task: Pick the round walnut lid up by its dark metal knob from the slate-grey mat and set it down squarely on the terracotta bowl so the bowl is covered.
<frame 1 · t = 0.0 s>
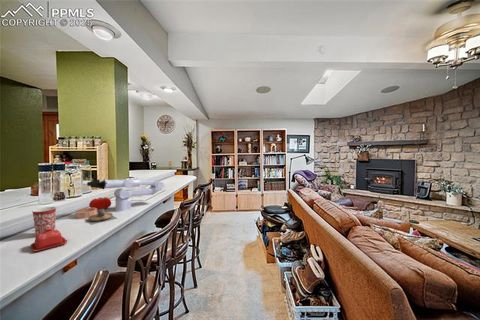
hand: (89, 184, 131), 22 cm above the worktop, tool horizontal, fingers open, 7 cm apart
lid: (101, 218, 127), point 1 cm above the worktop, touching mat
butter dish: (49, 246, 93), on the worktop
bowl: (86, 216, 133), on the worktop
mug: (47, 233, 107), on the worktop
tomato: (101, 209, 150), on the worktop
mat: (101, 219, 127), on the worktop
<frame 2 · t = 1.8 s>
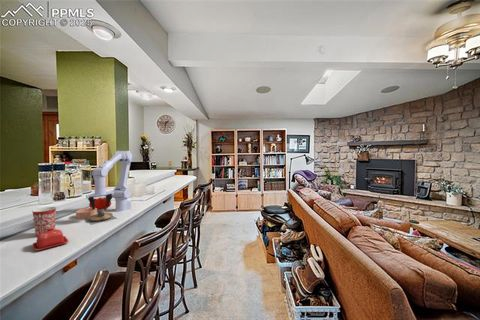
hand: (100, 207, 127), 8 cm above the worktop, tool pointing down, fingers open, 7 cm apart
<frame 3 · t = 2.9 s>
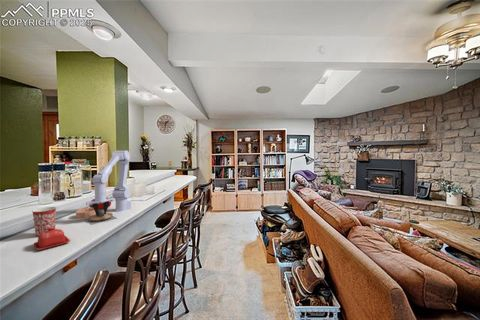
hand: (101, 214, 127), 3 cm above the worktop, tool pointing down, fingers closed on lid, 4 cm apart
lid: (101, 218, 127), point 1 cm above the worktop, touching gripper, mat
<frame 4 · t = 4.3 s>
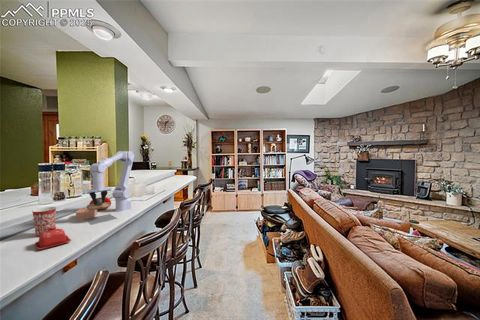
hand: (98, 203, 128), 10 cm above the worktop, tool pointing down, fingers closed on lid, 4 cm apart
lid: (99, 207, 128), point 7 cm above the worktop, touching gripper
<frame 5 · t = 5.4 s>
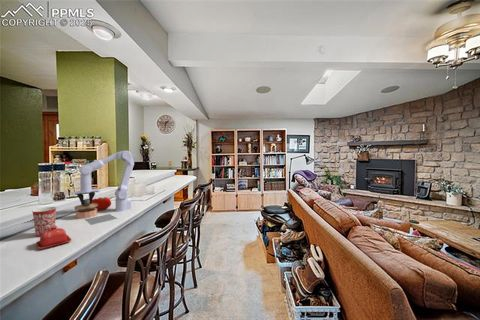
hand: (86, 204, 133), 8 cm above the worktop, tool pointing down, fingers closed on lid, 4 cm apart
lid: (86, 208, 133), point 6 cm above the worktop, touching gripper
when the fingers open (8 cm above the worktop, at t = 5.9 s): lid drops 1 cm, resting on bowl.
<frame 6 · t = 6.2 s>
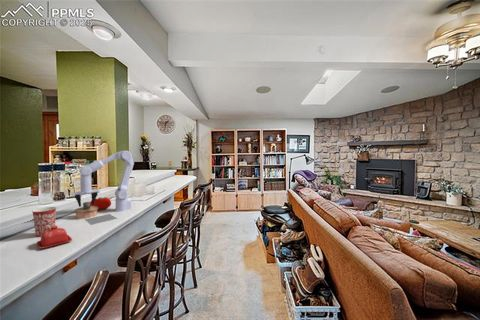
hand: (86, 205, 133), 8 cm above the worktop, tool pointing down, fingers open, 6 cm apart
lid: (86, 211, 133), point 3 cm above the worktop, touching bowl
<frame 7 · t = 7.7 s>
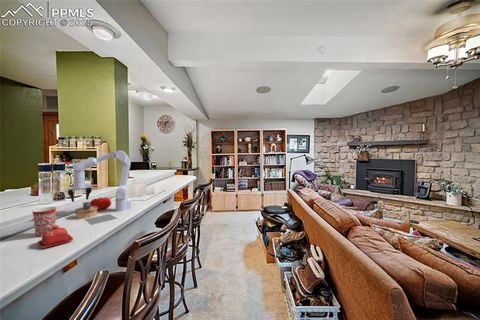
hand: (80, 200, 135), 10 cm above the worktop, tool pointing down, fingers open, 7 cm apart
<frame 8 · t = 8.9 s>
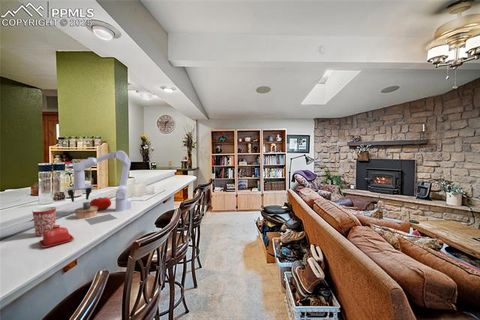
hand: (80, 200, 135), 10 cm above the worktop, tool pointing down, fingers open, 7 cm apart
at the end: lid 0.2 cm off-centre on the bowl, point 3.5 cm above the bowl's base; lid tilted 0°; the gripper is holding nothing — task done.
